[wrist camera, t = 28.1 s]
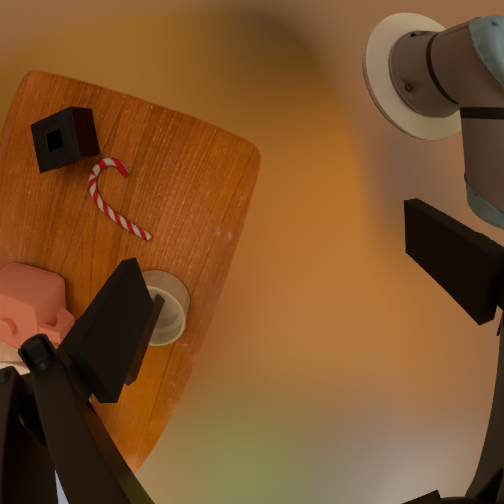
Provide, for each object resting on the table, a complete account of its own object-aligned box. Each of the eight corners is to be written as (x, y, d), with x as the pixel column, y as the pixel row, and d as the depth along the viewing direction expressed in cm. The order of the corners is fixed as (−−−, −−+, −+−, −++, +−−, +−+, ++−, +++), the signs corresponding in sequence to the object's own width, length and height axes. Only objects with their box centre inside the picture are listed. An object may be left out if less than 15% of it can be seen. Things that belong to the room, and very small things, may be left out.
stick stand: (91, 108, 41) (70, 106, 35) (100, 153, 44) (80, 157, 38) (53, 124, 42) (30, 125, 35) (62, 167, 44) (40, 173, 38)
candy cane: (135, 253, 49) (77, 182, 44) (137, 250, 50) (80, 181, 45) (170, 223, 47) (109, 148, 43) (172, 221, 49) (112, 148, 44)
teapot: (4, 302, 52) (-32, 337, 39) (-2, 248, 48) (-45, 277, 35) (88, 331, 55) (59, 377, 42) (87, 274, 51) (50, 315, 38)
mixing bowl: (193, 273, 52) (187, 292, 46) (188, 328, 56) (183, 350, 50) (129, 263, 51) (116, 280, 45) (129, 319, 55) (119, 339, 48)
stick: (157, 293, 52) (124, 371, 34) (165, 300, 53) (136, 380, 34) (151, 299, 53) (116, 377, 34) (158, 306, 53) (127, 386, 34)
